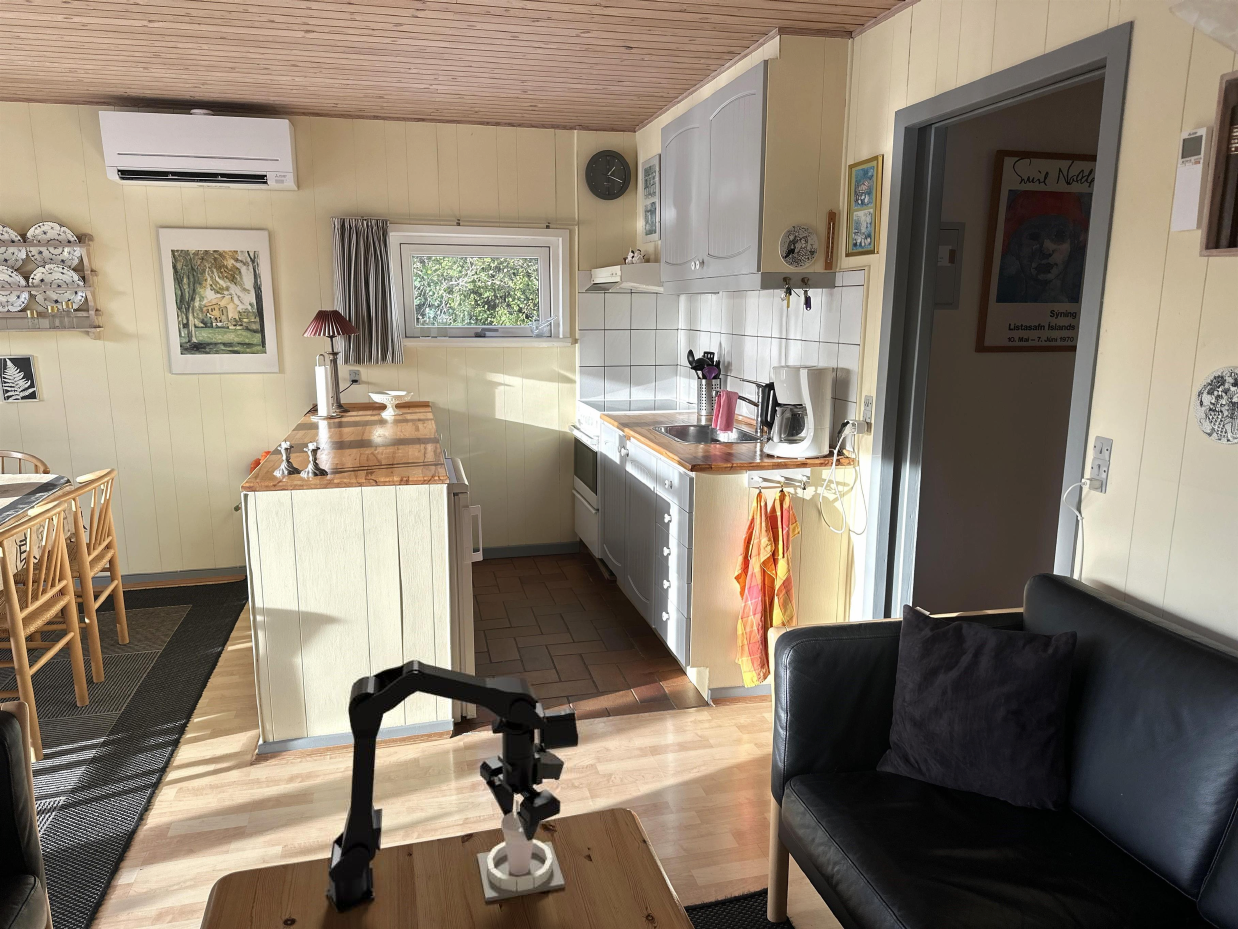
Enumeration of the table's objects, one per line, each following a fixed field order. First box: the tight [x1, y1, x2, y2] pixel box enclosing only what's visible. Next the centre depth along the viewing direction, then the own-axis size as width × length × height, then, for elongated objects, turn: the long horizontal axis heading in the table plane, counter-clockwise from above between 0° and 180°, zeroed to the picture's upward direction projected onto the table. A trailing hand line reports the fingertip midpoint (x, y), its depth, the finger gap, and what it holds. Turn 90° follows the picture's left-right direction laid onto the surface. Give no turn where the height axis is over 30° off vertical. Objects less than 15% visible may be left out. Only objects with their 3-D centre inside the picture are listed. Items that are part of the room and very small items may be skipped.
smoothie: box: [501, 799, 534, 875], centre depth 155 cm, size 6×6×14 cm
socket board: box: [476, 838, 566, 902], centre depth 156 cm, size 14×12×3 cm
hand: (519, 829), depth 155 cm, fingers open, 7 cm apart
